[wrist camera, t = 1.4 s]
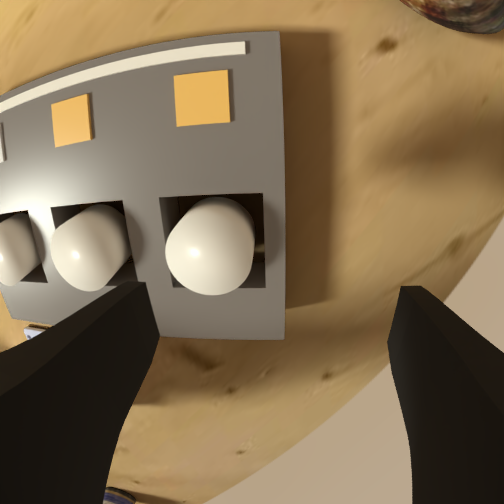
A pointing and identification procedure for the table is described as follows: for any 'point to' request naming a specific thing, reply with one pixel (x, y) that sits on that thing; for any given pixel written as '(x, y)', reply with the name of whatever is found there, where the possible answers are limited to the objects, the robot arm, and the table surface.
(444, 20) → the seashell
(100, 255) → the button middle
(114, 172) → the switch console
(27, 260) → the button
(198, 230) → the button
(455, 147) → the table surface
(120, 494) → the pill bottle
